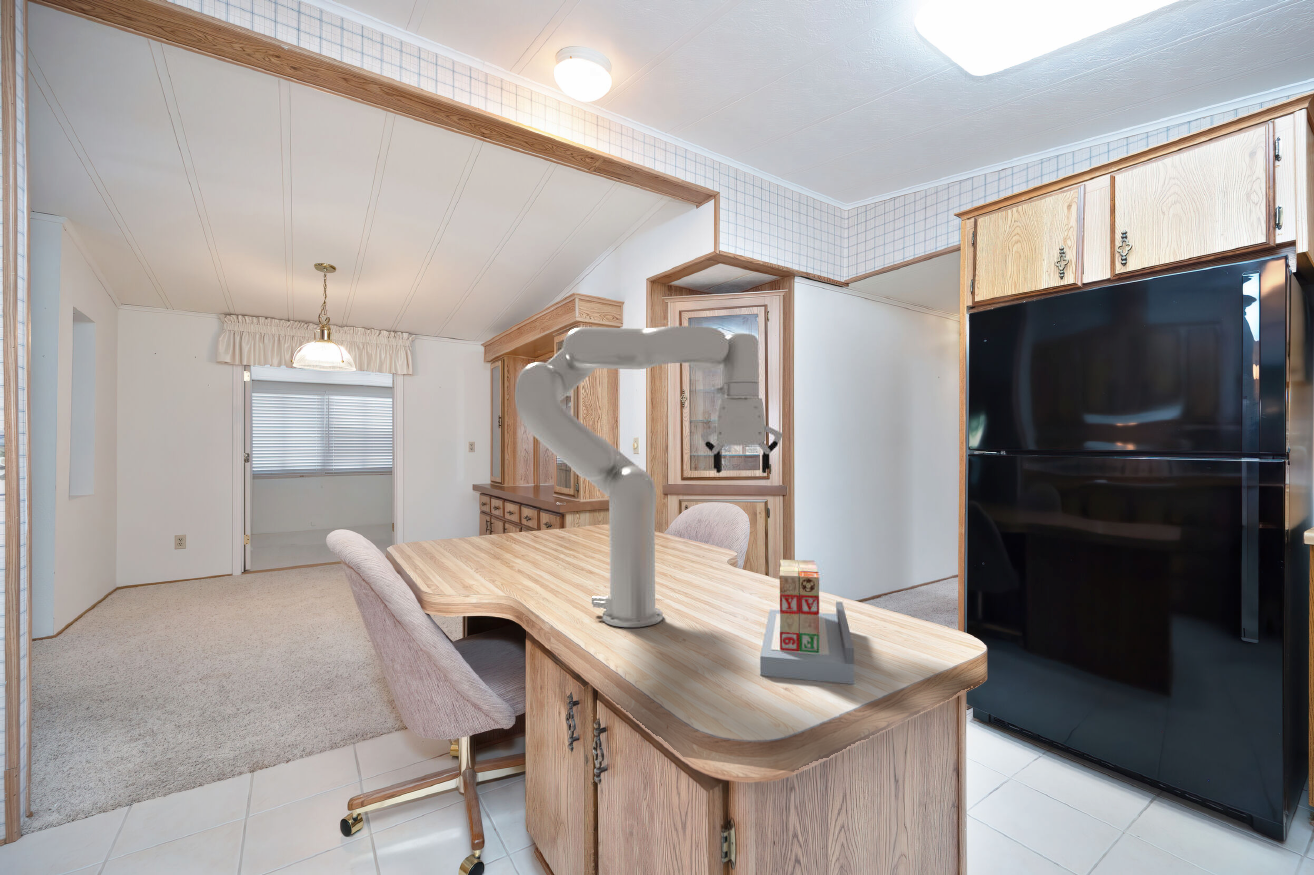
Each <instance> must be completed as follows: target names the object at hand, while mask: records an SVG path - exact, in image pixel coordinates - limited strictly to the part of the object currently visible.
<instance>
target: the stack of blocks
mask: <svg viewBox="0 0 1314 875" xmlns="http://www.w3.org/2000/svg"><path fill="white" fill-rule="evenodd" d="M779 562H780V565H779V610H780V650H785V651H801V652H813V653H819V613H820V575H819V569H818V567H817V564H816V561H815V560H806V559H805V560H804V559H803V560H801V559H800V560H798V559H797V560H796V559H780V560H779Z"/></svg>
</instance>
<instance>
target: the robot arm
mask: <svg viewBox="0 0 1314 875" xmlns="http://www.w3.org/2000/svg"><path fill="white" fill-rule="evenodd" d="M667 364H668V365H669V364H689V365H690V367H691V368H693V369H695V370H697V371H712V370H719V369H722V376H723V377H722V378H723V379H722V385H721V387H716V390H715V391H716V395H721V396H722V397H723V398H720V399H719V401H718V405H717V412H716V413H717V415H716V426H714V427H711V428H710V429H708V430H705V431H704V432H702V433H701V434H700V438H701V439H702V441H703V443H704V445H705V448H707V449H708V450H709V451H710V452H711V454H713V470H716V474H720V473H722V472H723V471H722V470H723V469H722V467H723V466H722V465H723V463H722V461H723V460H722V458H723V457H722V456H723V455H722V454H721V451H722V449H723V448H724V447H725V446H758V447H759V448H760V449H761V451H762V454H761V473H763V474H767V470H770V454H771V453H772V452H773V451H774V450H775V449H776V448H777V447H778V445H779V444H780V441H781V440H782V438H783V433H782V432H780V431H779V430H777V429H775V428H772V427H771V426H769V425H766V419H765V418H766V417H765V408H764V402H763V399H762V398H761V397H760V390H759V389H760V388H759V385H760V384H759V373H760V372H759V371H760V370H759V340H758V338H757V336H756V335H755V334H751V333H733V334H730V335H727V336H726V334H725V333H724V332H722V331H721V330H719V329H717V328H714V327H711V326H710V327H708V326H695V325H694V326H693V325H692V326H690V325H689V326H687V325H685V326H684V325H676V326H675V325H674V326H673V325H671V326H661V327H645V328H644V327H643V328H628V327H627V328H623V327H622V328H621V327H619V328H618V327H598V326H597V327H593V326H590V327H589V326H582V327H576V328H573V329H571V330H570V331H568V333H567V334H566V336H565V337H564V340H563V344H562V349H560V350H559V351H558V352H557V353H556V354H555V355H553V356H552V358H550V359H549V360H548V361H547V362H540V361H539V362H538V361H537V362H532V363H530V364H528V365H526V366H525V367H524V368H523V369H522V370H521V371H520V373H519V376H518V377H517V380H516V384H515V388H514V389H515V391H514V400H515V407H516V410H517V413H518V416H519V417H520V421H521V422H522V424H523V425H524V427H525V428H526V429H527V430H528V431H529V433H531V435H532V436H533V437H534V438H536V439H537V440H538V441H539V442H540V443H542V444H543V446H545V447H546V448H547V449H549V450H550V451H551V452H552V453H553V454H554V455H555V456H557V457H558V458H559V459H560V460H561V461H563V463H565V464H566V465H567V466H568V467H569V468H571V469H572V471H573V472H574V473H575V474H576V475H578V476H579V477H580V478H583V479H586V480H587V481H588V482H590V483H591V484H592V485H593V486H594V487H596V488H597V489H598V490H599V491H601V492H602V493H603V494H605V495H606V496H607V497H608V505H609V506H608V507H609V508H608V510H609V511H608V513H609V515H608V516H609V517H608V518H609V520H608V521H609V525H608V526H609V527H608V529H609V530H608V531H609V532H608V535H609V536H608V538H609V540H608V541H609V543H608V544H609V595H606V596H602V595H600V596H599V595H593V596H592V598H591V605H592V607H593V608H599V609H600V608H602V609H604V611H603V612H602V621H603V622H604V623H606V624H608V625H610V626H614V627H621V628H641V627H648V626H652V625H655V624H658V623H660V622H661V621H662V620H663V618H664V616H663V615H664V614H663V611H662V610H661V609H659V608H658V607H656V538H655V537H656V508H657V505H656V504H657V492H656V486H655V482H654V480H653V478H652V476H651V475H650V474H649V473H648V472H647V471H645V470H644V469H642V468H641V467H640V466H638V465H637V464H636V463H635V462H633V461H632V460H631V459H630V458H628V457H627V456H626V455H625V454H624V453H622V452H621V451H620V450H618V449H617V448H616V447H615V446H613V445H612V444H611V443H610V442H609V441H608V440H607V439H605V438H604V437H602V436H600V435H598V434H596V433H595V432H594V431H592V430H591V429H590V428H588V427H587V426H586V425H585V424H584V423H582V422H581V421H580V420H578V419H577V418H576V417H575V416H574V415H573V414H572V413H570V412H569V411H568V410H567V409H566V408H565V407H564V406H563V405H562V403H561V401H562V400H563V399H564V398H566V397H567V395H569V394H570V393H571V392H573V390H574V389H575V388H577V387H578V386H579V385H581V383H582V382H584V381H585V380H586V379H587V378H588V377H589V376H591V375H592V373H594V371H595V370H596V369H608V370H611V369H612V370H613V369H614V370H615V369H617V370H645V369H650V368H653V367H657V366H661V365H667ZM766 433H768V434H770V435H772V436H773V437H774V439H773V440H772V442H771V443H770V444H769V445H768V444H767V443H766V442H765V441H766ZM715 434H716V438H715V439H716V442H717V444H715V445H714V444H713V443H712V441H711V440H710V437H711V436H713V435H715Z"/></svg>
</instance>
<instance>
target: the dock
mask: <svg viewBox="0 0 1314 875" xmlns="http://www.w3.org/2000/svg"><path fill="white" fill-rule="evenodd" d="M845 611H846V610H845V607H844V603H843V601H835V613H829V612H819V653H813V652H801V651H785V650H780V609H769V611H768V616H767V622H766V625H765V626H766V627H765V632H764V636H763V640H762V646H761V652H760V656H759V657H760V660H759V661H760V665H759V666H760V667H759V668H760V676H765V677H773V678H786V679H795V680H804V681H805V680H806V681H818V682H825V683H826V682H828V683H837V684H848V685H855V647H854V643H853V639H852V634H851V631H850V627H849V624H848V623H849V622H848V618H847V615H846V612H845Z"/></svg>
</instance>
